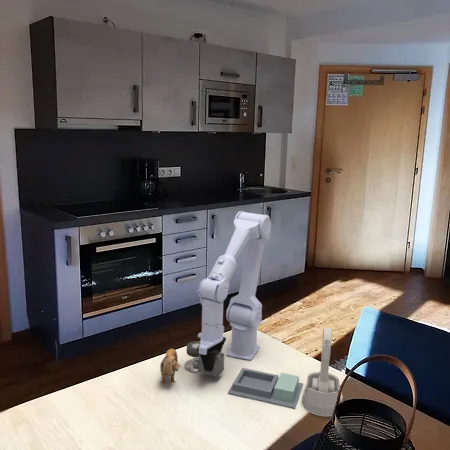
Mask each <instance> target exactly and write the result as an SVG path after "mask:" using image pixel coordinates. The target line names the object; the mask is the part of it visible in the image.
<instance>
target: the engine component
mask: <svg viewBox="0 0 450 450" xmlns="http://www.w3.org/2000/svg"><path fill="white" fill-rule="evenodd" d="M332 333H333V332H332V327H325V326H324V327H323V329H322V340H321V341H322V342H321V357H320V359H321V361H320V371H312V372H310V373H309V374H308V375H307V380H306V382H305V385H304V386H303V388H302V398H301V405H302V406H303V408H304V409H305V410H306V411H308V412H309V414H310V413H311V414H313V415H315V416H319V417H333V416H332V413H333V410H334V407H335V404H336V401H337V396H338V391H339V389H340V390H341V387H340V380H339V377H338V376H337V375H335V374H333V373H329V369H330V368H329V367H330V358H331V351H332V349H331V348H332V347H331V346H332ZM343 399H344V398H343V393H342V392H341V396H340V402H342V403H343Z"/></svg>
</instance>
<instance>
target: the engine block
mask: <svg viewBox="0 0 450 450" xmlns="http://www.w3.org/2000/svg"><path fill="white" fill-rule="evenodd" d="M198 358H199V373H198V374H202V375H208V376H212V377H217V378H219V377H220V376H221V374H222V373H223V372H224V370H225V353H224V352H222V350H218V352H217V354H216V356H215V359H214V365H213V370H212V371H211V372H209V371H205V370H204V366H203V362H202V359H201V357H200V355H199V357H198Z"/></svg>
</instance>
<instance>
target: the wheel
mask: <svg viewBox="0 0 450 450" xmlns="http://www.w3.org/2000/svg"><path fill="white" fill-rule="evenodd" d="M200 342H201V340H197V341H196V340H194V341H190V342H188V343H187V344H186V355H188V356H189V357H192V358H196V357H198V358H199V353H198V352H197V347H198V346H199V345H200Z"/></svg>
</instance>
